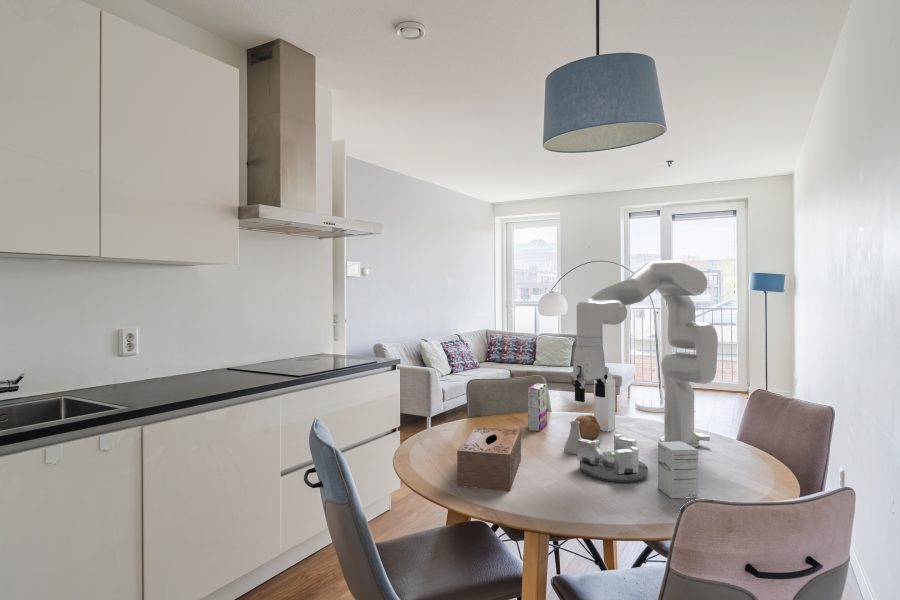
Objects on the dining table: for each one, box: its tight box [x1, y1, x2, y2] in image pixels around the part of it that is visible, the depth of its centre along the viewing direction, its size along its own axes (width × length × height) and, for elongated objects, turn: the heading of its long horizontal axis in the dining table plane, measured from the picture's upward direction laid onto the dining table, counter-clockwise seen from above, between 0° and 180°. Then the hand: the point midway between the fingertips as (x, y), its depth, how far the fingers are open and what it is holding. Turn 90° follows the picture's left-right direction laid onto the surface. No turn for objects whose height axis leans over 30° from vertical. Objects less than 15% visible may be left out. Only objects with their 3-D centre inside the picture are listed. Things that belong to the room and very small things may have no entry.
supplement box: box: [657, 441, 699, 499], centre depth 132 cm, size 7×7×13 cm
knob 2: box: [613, 446, 640, 474], centre depth 142 cm, size 4×6×7 cm, turn 102°
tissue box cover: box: [456, 426, 522, 492], centre depth 149 cm, size 26×14×10 cm, turn 166°
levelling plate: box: [579, 450, 649, 485], centre depth 149 cm, size 19×19×6 cm
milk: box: [593, 372, 616, 433], centre depth 195 cm, size 6×6×22 cm
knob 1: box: [613, 433, 637, 451], centre depth 154 cm, size 4×6×7 cm, turn 42°
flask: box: [563, 420, 582, 455], centre depth 168 cm, size 7×7×10 cm
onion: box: [574, 414, 601, 441], centre depth 181 cm, size 10×9×10 cm
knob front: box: [576, 439, 601, 465], centre depth 151 cm, size 4×6×7 cm, turn 41°
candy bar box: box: [527, 383, 548, 432], centre depth 198 cm, size 11×5×16 cm, turn 155°
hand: (590, 399), depth 153 cm, fingers open, 9 cm apart
